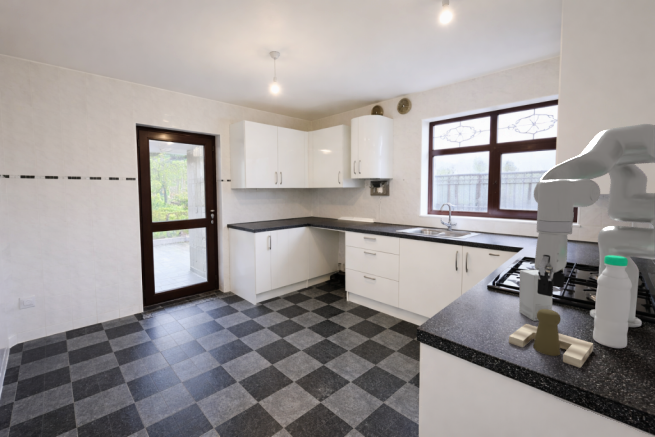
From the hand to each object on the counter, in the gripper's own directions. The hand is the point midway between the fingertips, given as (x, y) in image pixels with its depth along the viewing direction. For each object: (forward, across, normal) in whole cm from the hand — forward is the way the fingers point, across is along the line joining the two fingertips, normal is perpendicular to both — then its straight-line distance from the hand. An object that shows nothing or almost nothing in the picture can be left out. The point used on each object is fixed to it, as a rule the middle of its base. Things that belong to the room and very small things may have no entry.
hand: (550, 290), depth 81 cm
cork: (+17, +1, 0) cm, 17 cm away
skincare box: (+17, -23, -10) cm, 30 cm away
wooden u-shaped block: (+16, -2, 0) cm, 17 cm away
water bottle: (+17, -18, +10) cm, 26 cm away
